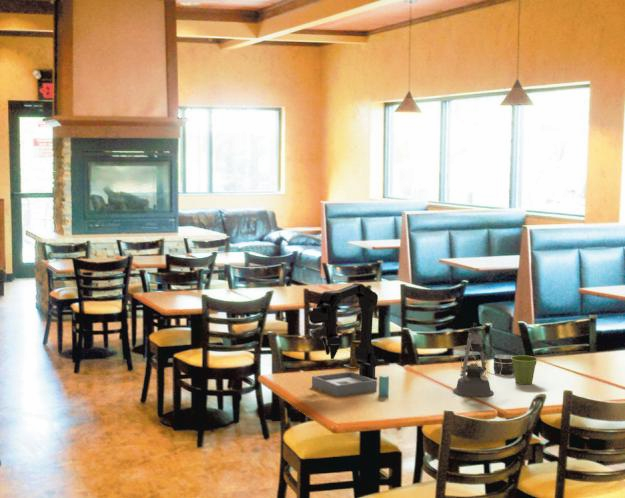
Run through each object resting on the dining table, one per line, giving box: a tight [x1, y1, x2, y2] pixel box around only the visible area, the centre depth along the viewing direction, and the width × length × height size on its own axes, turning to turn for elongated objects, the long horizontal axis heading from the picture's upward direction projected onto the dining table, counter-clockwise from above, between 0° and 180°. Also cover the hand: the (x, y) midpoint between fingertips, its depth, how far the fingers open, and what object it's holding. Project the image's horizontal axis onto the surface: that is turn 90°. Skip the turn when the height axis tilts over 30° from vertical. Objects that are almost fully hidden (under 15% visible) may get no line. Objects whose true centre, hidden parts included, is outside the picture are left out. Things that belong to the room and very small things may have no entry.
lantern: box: [452, 322, 502, 398], centre depth 413 cm, size 18×20×30 cm
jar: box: [493, 354, 514, 376], centre depth 454 cm, size 10×10×8 cm
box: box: [311, 371, 378, 397], centre depth 419 cm, size 20×20×4 cm
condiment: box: [343, 339, 360, 369], centre depth 465 cm, size 7×8×12 cm
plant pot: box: [511, 355, 539, 385], centre depth 434 cm, size 12×12×11 cm
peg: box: [378, 375, 390, 398], centre depth 408 cm, size 4×4×8 cm
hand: (329, 356), depth 420 cm, fingers open, 9 cm apart
